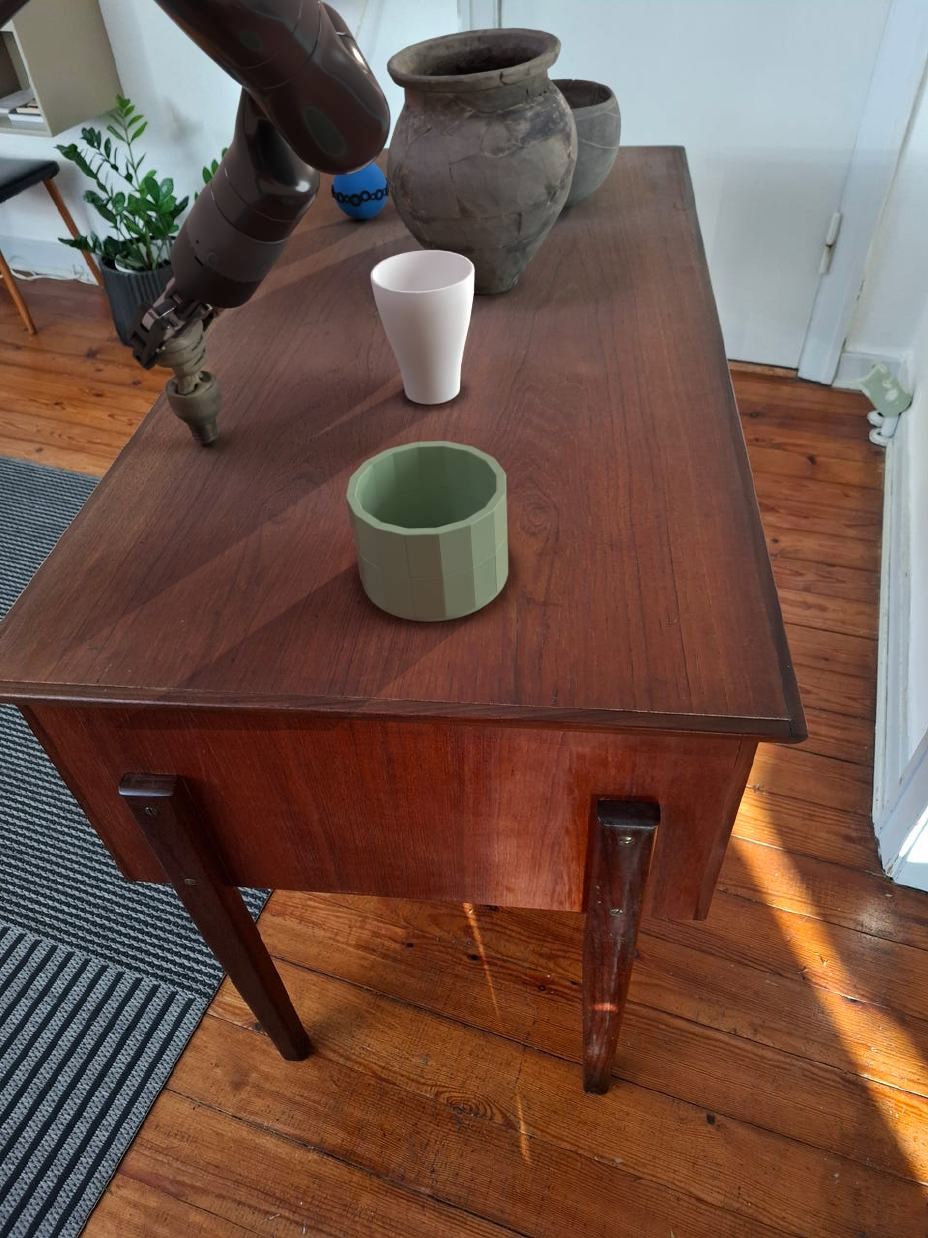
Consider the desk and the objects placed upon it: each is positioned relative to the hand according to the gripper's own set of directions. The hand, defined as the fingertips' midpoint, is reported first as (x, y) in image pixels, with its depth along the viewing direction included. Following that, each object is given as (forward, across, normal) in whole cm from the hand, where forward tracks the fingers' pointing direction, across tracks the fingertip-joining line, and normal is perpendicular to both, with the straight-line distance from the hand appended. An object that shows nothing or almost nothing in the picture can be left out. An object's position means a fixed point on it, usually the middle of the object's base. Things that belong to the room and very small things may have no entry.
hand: (166, 345), depth 86 cm
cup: (-5, -19, +20) cm, 28 cm away
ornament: (+21, -61, -6) cm, 65 cm away
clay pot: (+1, -47, +15) cm, 49 cm away
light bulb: (+7, 0, +9) cm, 11 cm away
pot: (-16, +7, +31) cm, 36 cm away
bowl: (+4, -77, +11) cm, 78 cm away
